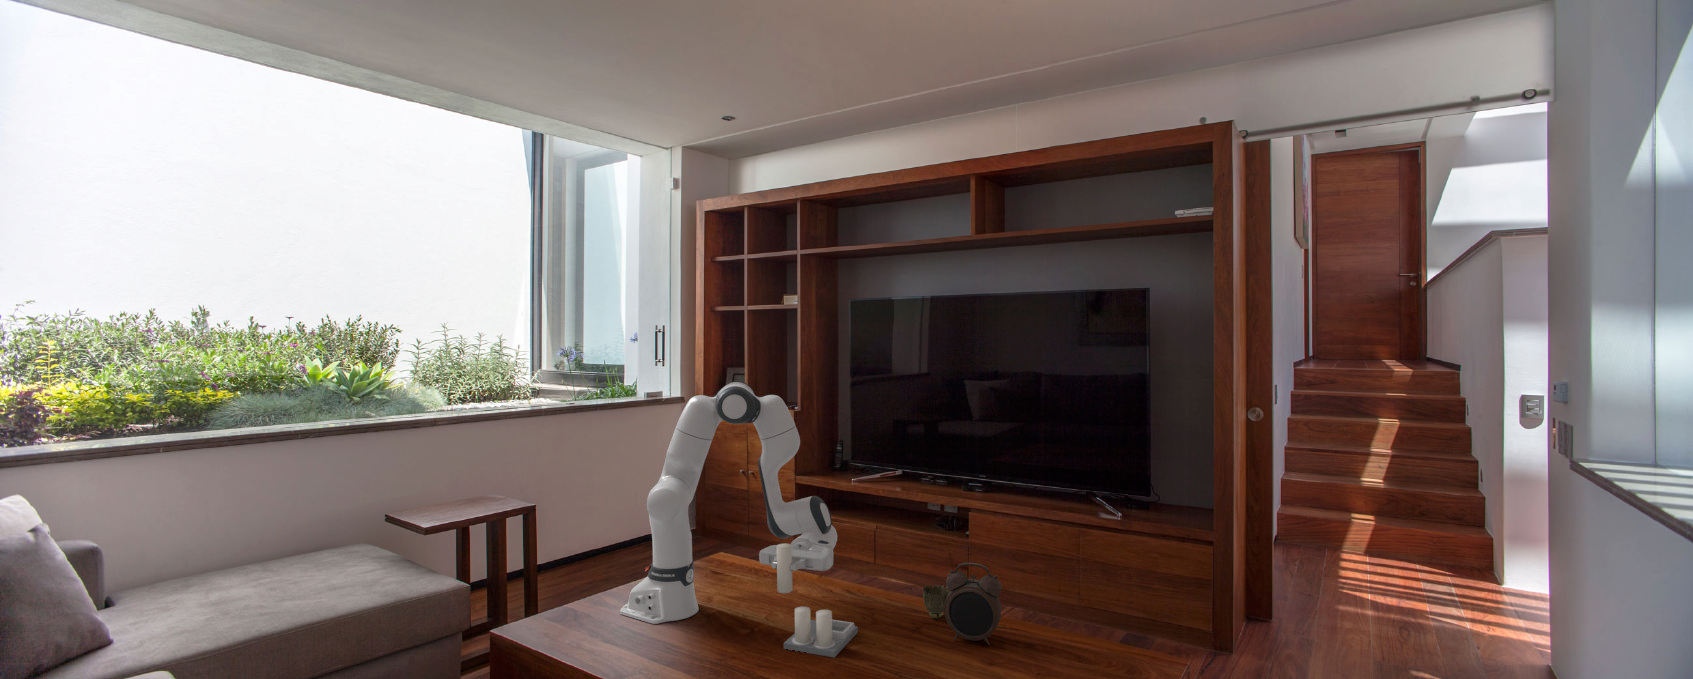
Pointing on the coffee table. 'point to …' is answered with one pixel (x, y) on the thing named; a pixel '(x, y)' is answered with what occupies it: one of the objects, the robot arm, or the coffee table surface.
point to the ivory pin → (784, 568)
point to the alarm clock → (973, 604)
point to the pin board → (821, 651)
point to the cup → (935, 600)
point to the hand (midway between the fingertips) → (783, 566)
